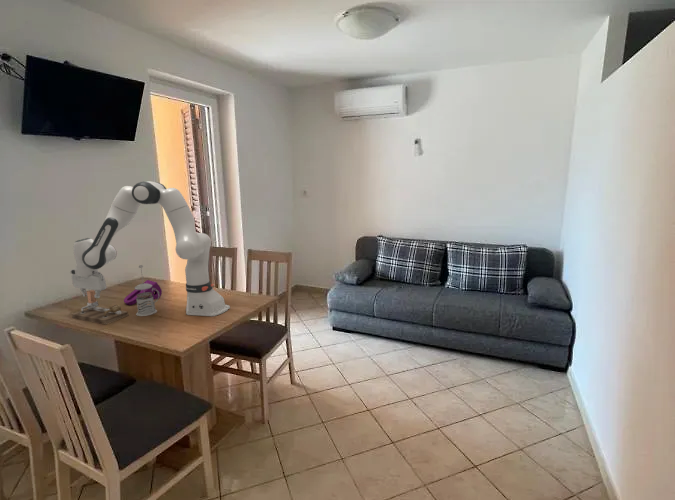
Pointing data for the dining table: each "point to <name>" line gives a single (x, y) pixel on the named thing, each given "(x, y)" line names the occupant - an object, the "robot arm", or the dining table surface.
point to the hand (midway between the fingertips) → (91, 296)
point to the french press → (145, 308)
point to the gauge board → (101, 314)
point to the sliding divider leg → (91, 300)
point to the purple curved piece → (133, 295)
